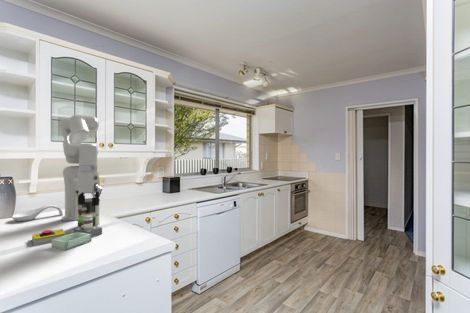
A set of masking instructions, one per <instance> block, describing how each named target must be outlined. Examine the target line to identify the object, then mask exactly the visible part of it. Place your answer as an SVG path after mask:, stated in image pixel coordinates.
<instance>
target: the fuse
mask: <svg viewBox="0 0 470 313" xmlns="http://www.w3.org/2000/svg"><path fill="white" fill-rule="evenodd" d="M92 227H93V215H86V216H84V230H86V231H87V230H90V229H92Z"/></svg>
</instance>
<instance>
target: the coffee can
mask: <svg viewBox="0 0 470 313" xmlns="http://www.w3.org/2000/svg"><path fill="white" fill-rule="evenodd" d="M92 198H93V197H91V198H90V197H89V198H85V204H81V205H78V220H77V228H80V227H81V226H82V225H84V216H86V215H93V226H96V227H99V226H100V201H101V199H100V198H99V205H97V206H92ZM98 225H99V226H98Z"/></svg>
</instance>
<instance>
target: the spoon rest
mask: <svg viewBox="0 0 470 313" xmlns="http://www.w3.org/2000/svg"><path fill="white" fill-rule="evenodd" d="M49 208H52V209H56V210H58V213H59V215H60V216H63V215H64V213H63V210H62V209H61V207H59V206H58V205H54V204H47V205H43V206H41V207H38V208H35V209H32V210H29V211H24V212H19V213H15V214H13V215H12V216H11V219H13V220H15V221H17V222H30V221H32V220H34V219H35V218H37V217H38V216H39V215H40V214H41V213H42V212H43V211H45V210H47V209H49Z"/></svg>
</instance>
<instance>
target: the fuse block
mask: <svg viewBox="0 0 470 313" xmlns="http://www.w3.org/2000/svg"><path fill="white" fill-rule="evenodd" d="M76 232H81V233H86V234H91V238H94V237H96V236H100V235H102V234H103V227H101V226H93V227H92V229H90V230H87V231H86V230H84V225H82V226H81V227H80V228H78V227H77V228H74V229H73V233H76Z"/></svg>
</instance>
